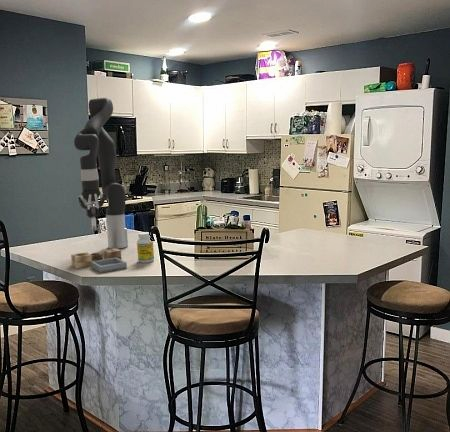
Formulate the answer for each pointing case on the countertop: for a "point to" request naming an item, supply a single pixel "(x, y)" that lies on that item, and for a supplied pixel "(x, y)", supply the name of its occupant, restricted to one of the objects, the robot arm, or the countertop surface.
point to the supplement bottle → (145, 248)
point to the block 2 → (112, 253)
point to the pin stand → (96, 256)
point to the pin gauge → (93, 217)
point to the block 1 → (81, 260)
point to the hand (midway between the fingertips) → (93, 216)
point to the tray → (108, 265)
